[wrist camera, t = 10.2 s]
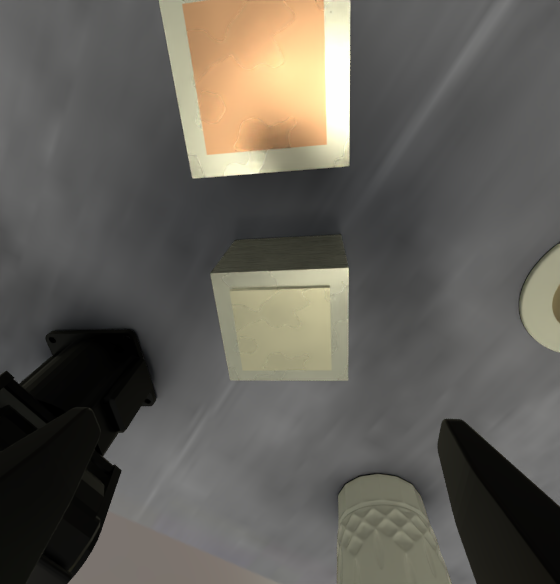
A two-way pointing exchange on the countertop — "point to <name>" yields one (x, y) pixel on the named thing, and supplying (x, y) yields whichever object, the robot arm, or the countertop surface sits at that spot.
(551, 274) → the coaster
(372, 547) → the white cup
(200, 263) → the countertop surface
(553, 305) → the pepper mill
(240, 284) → the spice tin
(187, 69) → the spice tin
